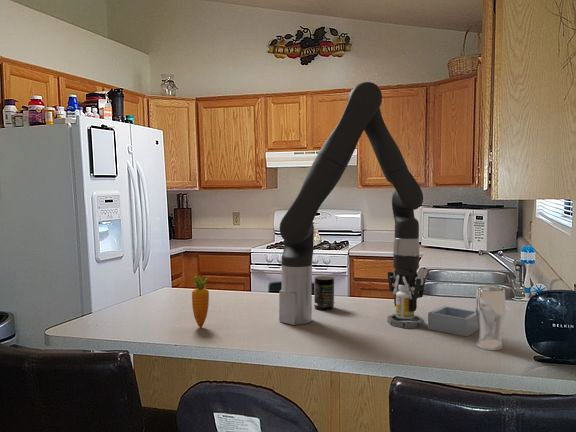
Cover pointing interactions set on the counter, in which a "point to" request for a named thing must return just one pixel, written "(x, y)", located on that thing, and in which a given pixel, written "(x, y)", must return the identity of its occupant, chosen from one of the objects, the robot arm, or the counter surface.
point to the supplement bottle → (403, 304)
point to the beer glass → (490, 316)
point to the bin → (453, 320)
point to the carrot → (200, 301)
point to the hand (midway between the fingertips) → (405, 308)
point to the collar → (393, 321)
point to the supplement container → (324, 292)
